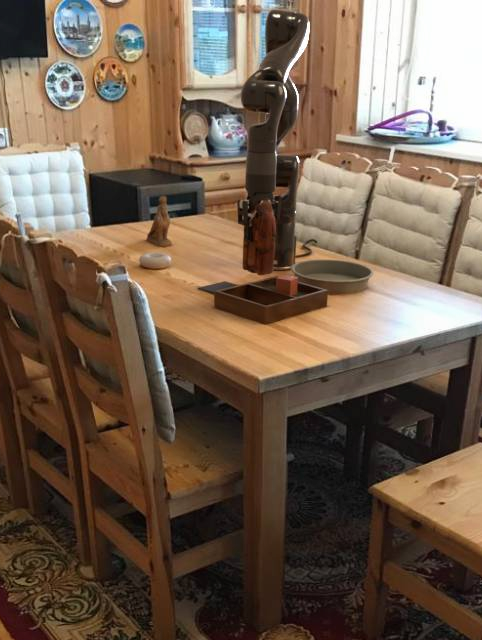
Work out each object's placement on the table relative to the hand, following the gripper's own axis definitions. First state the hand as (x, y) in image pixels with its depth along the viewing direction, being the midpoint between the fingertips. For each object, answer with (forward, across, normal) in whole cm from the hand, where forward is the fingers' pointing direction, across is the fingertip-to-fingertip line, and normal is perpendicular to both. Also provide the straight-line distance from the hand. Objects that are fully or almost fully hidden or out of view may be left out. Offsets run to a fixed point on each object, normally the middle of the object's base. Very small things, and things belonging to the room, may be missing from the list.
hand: (258, 239), depth 209 cm
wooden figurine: (+8, 0, 0) cm, 8 cm away
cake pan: (+19, +37, +4) cm, 42 cm away
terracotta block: (+16, +12, 0) cm, 20 cm away
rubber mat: (+19, +8, +20) cm, 28 cm away
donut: (+19, +10, +53) cm, 57 cm away
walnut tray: (+19, +6, 0) cm, 20 cm away
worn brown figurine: (+20, +32, +77) cm, 85 cm away
